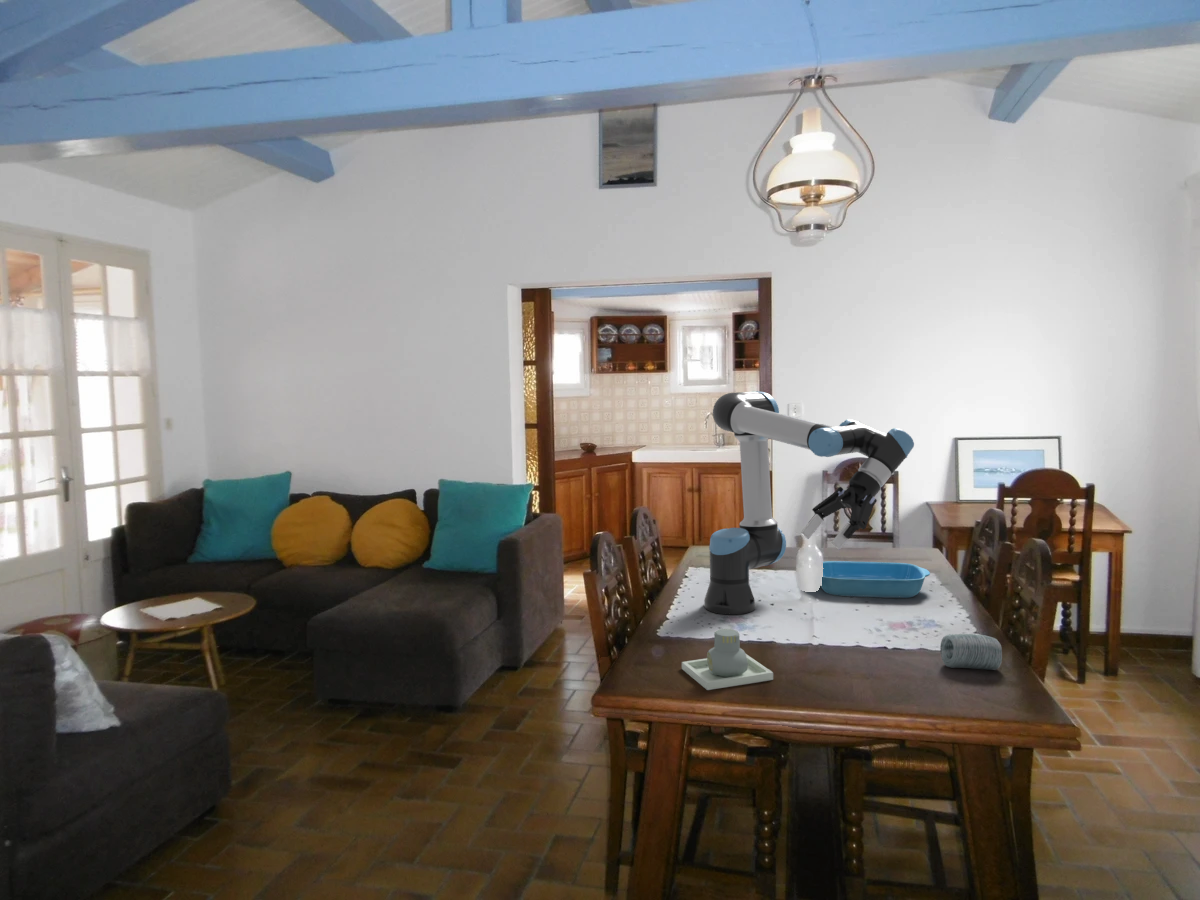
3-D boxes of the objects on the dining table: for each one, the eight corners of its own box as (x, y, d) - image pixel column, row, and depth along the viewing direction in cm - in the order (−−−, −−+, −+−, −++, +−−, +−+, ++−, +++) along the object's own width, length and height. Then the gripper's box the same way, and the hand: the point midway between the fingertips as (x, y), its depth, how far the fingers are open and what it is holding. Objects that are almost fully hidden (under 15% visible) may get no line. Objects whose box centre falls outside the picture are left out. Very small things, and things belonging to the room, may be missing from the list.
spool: (938, 660, 194) (949, 619, 197) (933, 664, 203) (943, 626, 205) (1000, 680, 190) (1010, 639, 192) (992, 684, 198) (1001, 644, 201)
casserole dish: (810, 598, 258) (811, 575, 258) (807, 579, 280) (808, 558, 279) (935, 603, 251) (936, 580, 250) (922, 583, 273) (923, 562, 272)
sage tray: (681, 671, 201) (681, 662, 200) (744, 662, 206) (744, 652, 206) (707, 693, 187) (707, 682, 187) (773, 682, 193) (773, 672, 192)
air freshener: (705, 665, 202) (705, 625, 201) (739, 663, 202) (739, 624, 201) (714, 682, 191) (714, 641, 190) (749, 681, 191) (749, 639, 190)
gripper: (909, 495, 205) (858, 560, 202) (848, 482, 229) (801, 540, 225) (892, 475, 203) (840, 541, 200) (832, 464, 226) (784, 522, 223)
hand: (819, 540), depth 212 cm, fingers open, 13 cm apart
